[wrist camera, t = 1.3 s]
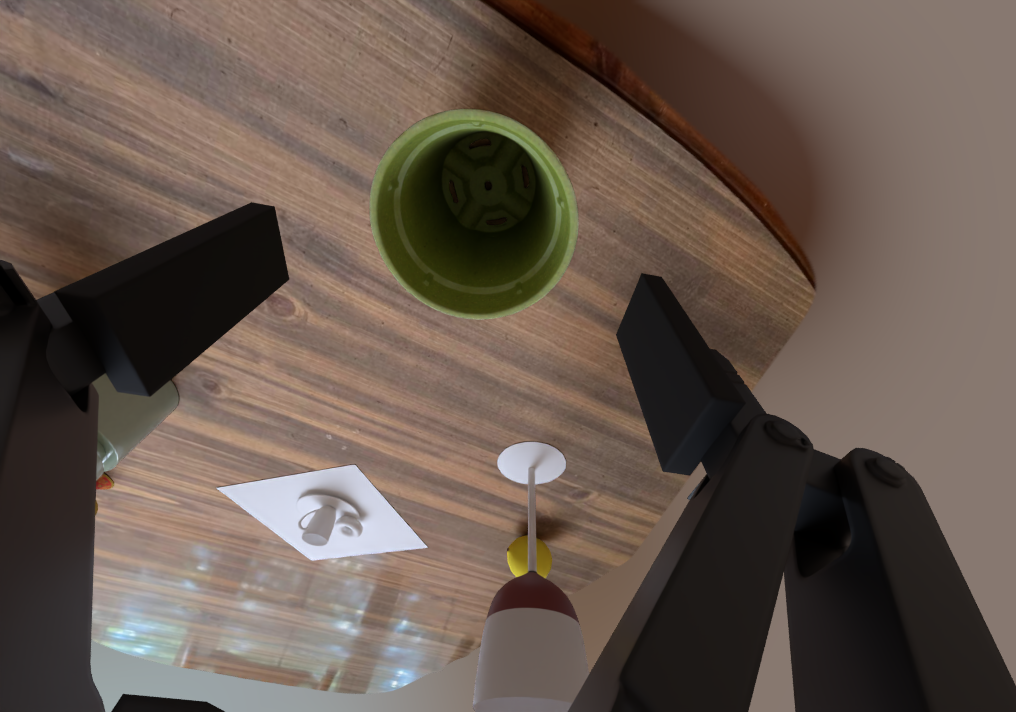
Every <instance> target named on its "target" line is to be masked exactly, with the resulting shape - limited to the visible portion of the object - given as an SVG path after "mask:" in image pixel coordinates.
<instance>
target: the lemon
mask: <svg viewBox="0 0 1016 712" xmlns="http://www.w3.org/2000/svg"><path fill="white" fill-rule="evenodd" d="M507 558H508V564H509V566H510V569H511V572H512V573H513V574H514V575H515V576H516V577H519V576H522V575H524V574H526V573H527V572H528V535H525V536H522V537H519V538H517V539H516V540H515V541H514V542H513V543H512V544H511V545H510V546H509V547H508V549H507ZM536 559H537V573H538V574H539V575H540V576H542V577H544V578H546V576H547V575H548V573H549V571H550V570H551V565H552V557H551V553H550V550H549V549H548V547H547V546H546V544H545V543H544V542H543V541H541V540H540V539H538V538H536Z"/></svg>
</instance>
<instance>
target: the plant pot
mask: <svg viewBox="0 0 1016 712" xmlns="http://www.w3.org/2000/svg"><path fill="white" fill-rule="evenodd" d="M480 139H488V140H490V141H491V145H490V146H479V147H476V148H472V149H469V146H470V144H471V143H473V142H475V141H477V140H480ZM522 165H523V166H525V167H526V169H527V172H528V178H529V185H528V187H527V188H524V181H523V174H522V170H521V166H522ZM451 181H453V182H454V187H455V192H456V195H457V198H458V200H459V202H458V203H455V202H454V201H453V197H452V194H451V193H450V190H449V182H451ZM488 181H489V182H490V183H491V184H492V189H491V190H489V191H488V190H486V189H485V183H486V182H488ZM502 217H505V218H507V220H506V222H504V223H503V224H500V225H488V224H487V223H486V222H487V220H497V219H500V218H502ZM370 222H371V228H372V233H373V237H374V240H375V243H376V245H377V247H378V250H379V252H380V255H381V257H382V259H383V261H384V262H385V264H386V266H387V267H388V269H389V270H390V272H391V273H392V274H393V276H394V277H395V278H396V280H397V281H398V282H399V283H400V284H401V285H402V286H403V287H404V288H405V289H406V290H407V291H408V292H409V293H410V294H412V295H413V296H415V297H416V298H417V299H418V300H420V301H421V302H423V303H424V304H426V305H428V306H429V307H431V308H433V309H435V310H438V311H440V312H443V313H445V314H448V315H451V316H456V317H460V318H466V319H479V320H481V319H493V318H499V317H504V316H508V315H511V314H514V313H517V312H520V311H522V310H524V309H526V308H528V307H529V306H531V305H533V304H534V303H536V302H537V301H539V300H540V299H541V298H543V297H544V296H545V295H546V294H547V293H548V292H549V291H550V290H551V289H552V288H553V287H554V286H555V285H556V284H557V283H558V282H559V280H560V279H561V277H562V276H563V274H564V273H565V271H566V269H567V267H568V266H569V264H570V261H571V259H572V256H573V253H574V250H575V246H576V242H577V237H578V208H577V201H576V197H575V193H574V189H573V186H572V184H571V181H570V179H569V176H568V174H567V172H566V170H565V168H564V167H563V165H562V163H561V162H560V160H559V159H558V157H557V156H556V154H555V153H554V152H553V151H552V149H551V148H550V147H549V146H548V145H547V144H546V143H545V142H544V141H543V140H542V139H541V138H540V137H539V136H538V135H537V134H536V133H534V132H533V131H532V130H530V129H529V128H527V127H526V126H525V125H523V124H521V123H519V122H518V121H516V120H514V119H512V118H509V117H507V116H505V115H502V114H499V113H495V112H491V111H487V110H481V109H456V110H449V111H444V112H440V113H437V114H434V115H431V116H429V117H426V118H424V119H422V120H420V121H418V122H417V123H415V124H414V125H412V126H411V127H409V128H408V129H407V130H406V131H404V132H403V133H402V134H401V135H400V136H399V137H398V138H397V139H396V140H395V141H394V142H393V143H392V144H391V146H390V147H389V148H388V150H387V151H386V153H385V154H384V156H383V157H382V159H381V161H380V163H379V165H378V167H377V170H376V173H375V176H374V179H373V182H372V187H371V194H370Z"/></svg>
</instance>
